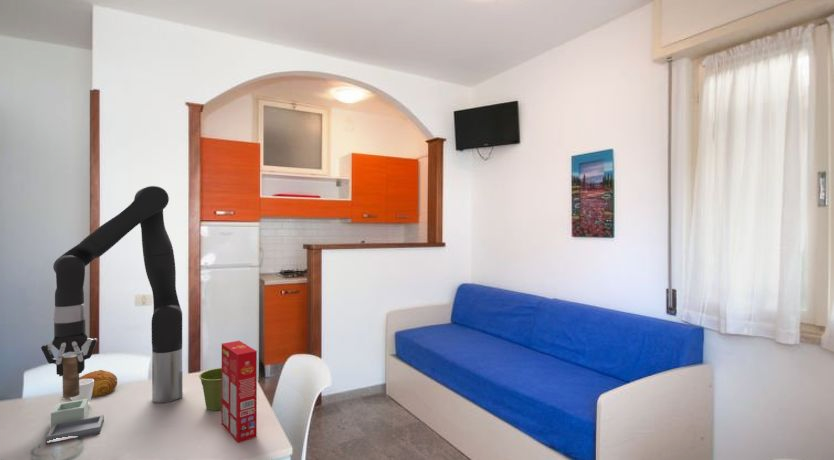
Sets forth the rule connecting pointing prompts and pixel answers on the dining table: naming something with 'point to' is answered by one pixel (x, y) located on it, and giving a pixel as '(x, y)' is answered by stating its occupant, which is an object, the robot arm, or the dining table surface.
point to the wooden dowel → (70, 376)
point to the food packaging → (239, 390)
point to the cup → (84, 390)
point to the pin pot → (69, 411)
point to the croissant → (101, 382)
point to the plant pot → (212, 388)
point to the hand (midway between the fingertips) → (70, 373)
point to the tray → (76, 428)
